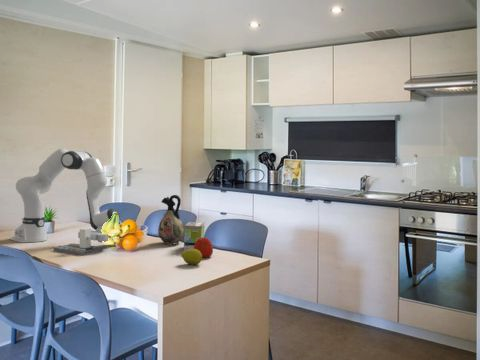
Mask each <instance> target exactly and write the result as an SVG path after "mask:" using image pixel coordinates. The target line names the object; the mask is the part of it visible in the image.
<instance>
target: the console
mask: <svg viewBox="0 0 480 360" xmlns="http://www.w3.org/2000/svg"><path fill="white" fill-rule="evenodd" d="M78 247H80V243H70V242H69V244H64V245H58V246H54V247H53V249H52V250H53V252H57V253H62V254H63V253H64V254H68V255H76V256H80V257H81V256H85V255H89V254H94V253H98V252H101V251H102V247H99V246H96V245H93V246H92V245H91V247H93V248H91V249H80V248H78Z"/></svg>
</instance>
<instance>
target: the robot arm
mask: <svg viewBox="0 0 480 360" xmlns="http://www.w3.org/2000/svg"><path fill="white" fill-rule="evenodd" d="M64 169H67V170H74V171H75V170H77V171H78V170H82V171H83V173H84V176H85V179H86V184H87V186H86V187H87V188H86V200H87V207H88V212H89V223H90V226H91V228H92V229H93V230H91V236H88V237H87V240H91V241H97V242H99V243H107V242H106V241H108V236H107V234H102V232H101V229H102V226H103V224H104V223H105V222H107V221H108V220H109V219H110V218H111V216H112V215H113V214H114V213H118V222H119V224H120V225H121V224H123V223H122V221H121V216H120V214H119V212H118V211H117V210H116V209H114V208H109V209H106V210H103V211H100V206H99V196H100V194H101V192H102V191H103V190H105V188H106V186H107V183H108V178H107V175H106V172H105V169H104V167H103V165H102V163H101V161H100V159H99V158H98V157H94V156H92V154H90V153H89V152H87V151H82V150H68V149H66V148H63V147H62V148H58V149H56V150H55V151H53V153H51V154H50V155H49V156H48V157H47V158H45V160H44V161H43V162H42V163H41V164H40V166H39V167H38V170H39V171H38V172H37V174H35V175H34V176H33V175H32V176H24V177H22V178H20V179H18V180H17V181H16V183H15V190H16V191H17V193H18V194H19V195H20V196H21V198H22V201H23V206H24V207H23V210H24V213H23V214H24V215H23V217H22V218H21V221H22V223H21V224H20V225H19V226H18V227H17V228H16V229H15V230H14V236H11V237H10V238H9V240H11V241H14V242H19V243H38V242H44V241H47V240H48V238H49V236H48V235H47V226H46V216H45V204H44V202H43V201H42V200H41V198H40V195H41V194H46V193H48V192H49V191H50V190H52V188H53V182H54V180H55V179H56V178H57V176H59V175H60V174H61V173H62V171H64ZM77 234H78V236H77V237H78V238H79V239H80V231H78V233H77ZM102 241H104V242H102Z"/></svg>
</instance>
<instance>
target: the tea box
mask: <svg viewBox="0 0 480 360" xmlns="http://www.w3.org/2000/svg"><path fill="white" fill-rule="evenodd" d="M183 237H184V238H183V239H184V241H183V252H184V251H186V250H188V249H194V245H195V243H196V241H197V240H198V239H199V238H205V222H195V221H194V222H191V221H188V222H187V223H186V224H185V225H184V234H183Z"/></svg>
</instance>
